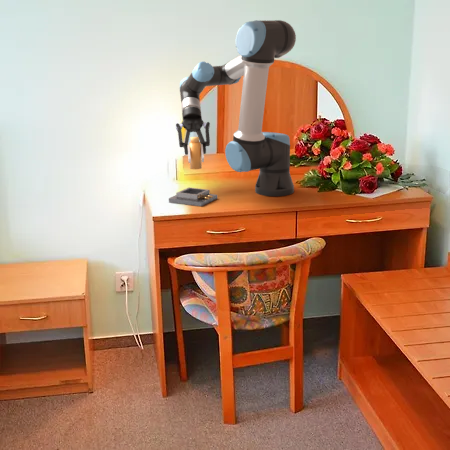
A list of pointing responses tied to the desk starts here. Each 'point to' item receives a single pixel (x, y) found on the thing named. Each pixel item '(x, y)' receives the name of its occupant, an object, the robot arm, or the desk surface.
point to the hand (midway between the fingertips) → (196, 160)
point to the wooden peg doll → (195, 153)
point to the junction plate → (193, 197)
